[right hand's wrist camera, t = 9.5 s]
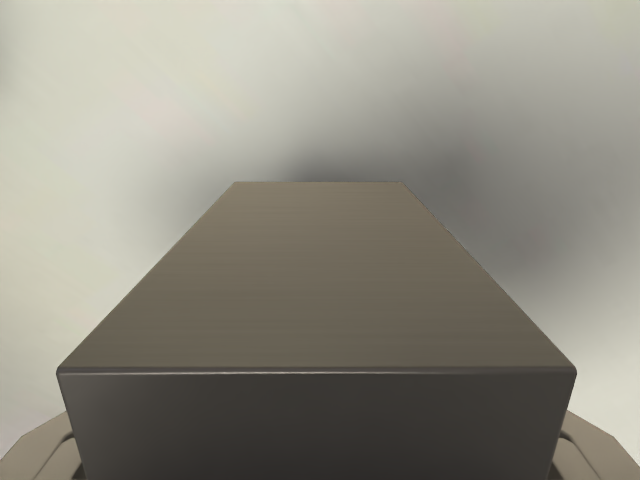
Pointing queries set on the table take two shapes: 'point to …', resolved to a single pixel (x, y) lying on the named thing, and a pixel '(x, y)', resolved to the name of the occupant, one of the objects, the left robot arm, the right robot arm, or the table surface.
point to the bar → (317, 352)
